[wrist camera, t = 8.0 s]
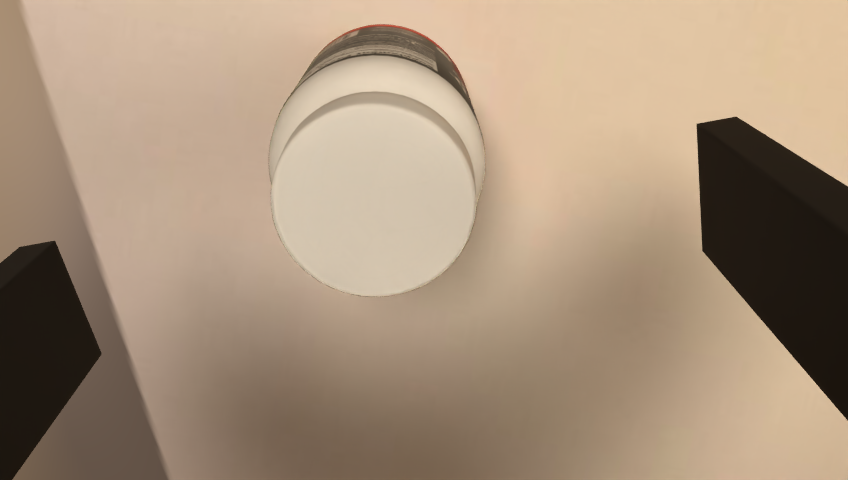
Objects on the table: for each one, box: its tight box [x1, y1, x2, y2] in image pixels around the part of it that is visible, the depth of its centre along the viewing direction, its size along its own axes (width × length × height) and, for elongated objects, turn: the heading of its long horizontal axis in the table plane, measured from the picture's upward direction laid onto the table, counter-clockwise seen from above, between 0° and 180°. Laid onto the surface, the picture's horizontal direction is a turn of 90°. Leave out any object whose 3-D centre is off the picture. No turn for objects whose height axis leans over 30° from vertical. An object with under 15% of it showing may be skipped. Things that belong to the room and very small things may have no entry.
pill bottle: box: [269, 24, 485, 297], centre depth 22 cm, size 6×6×10 cm
